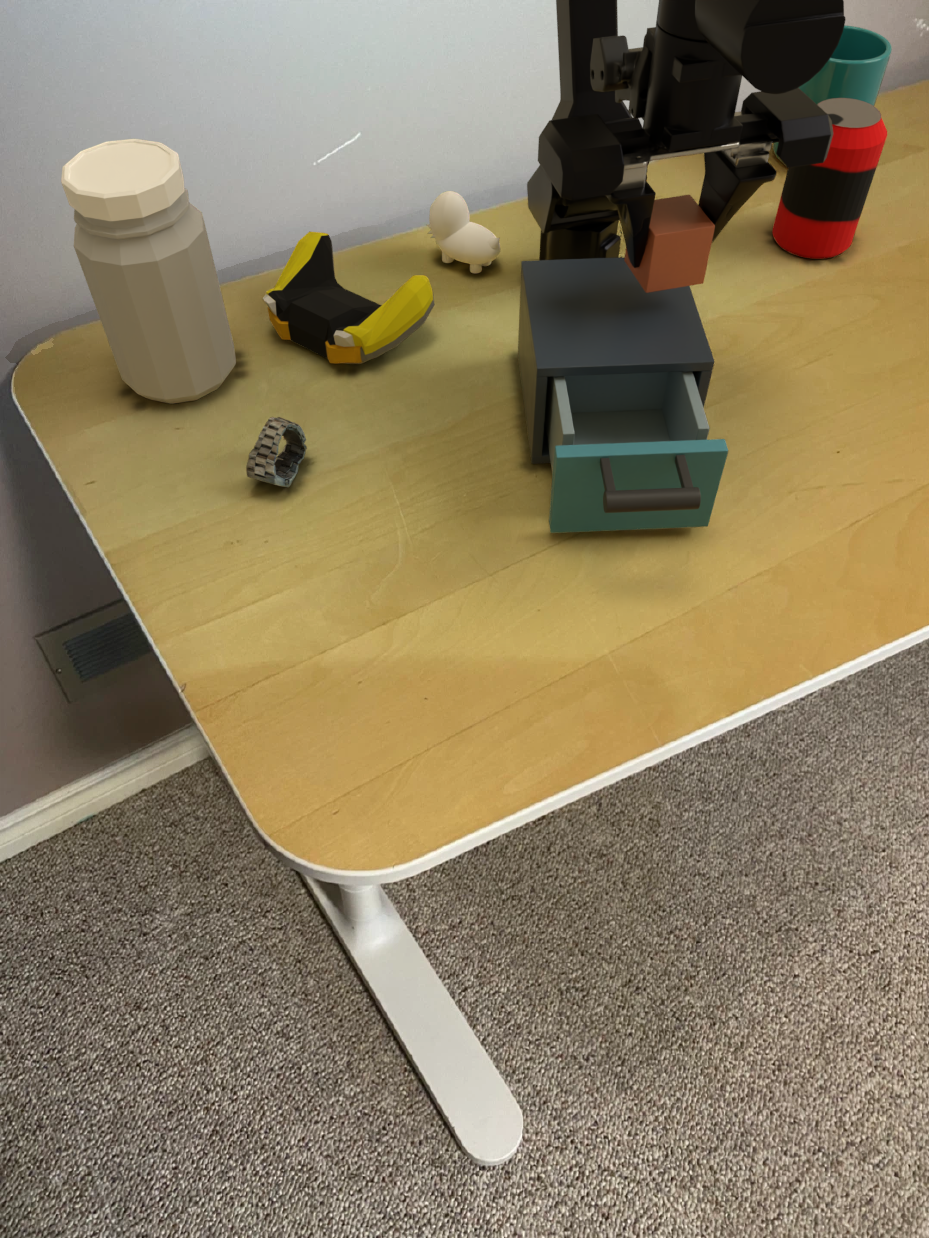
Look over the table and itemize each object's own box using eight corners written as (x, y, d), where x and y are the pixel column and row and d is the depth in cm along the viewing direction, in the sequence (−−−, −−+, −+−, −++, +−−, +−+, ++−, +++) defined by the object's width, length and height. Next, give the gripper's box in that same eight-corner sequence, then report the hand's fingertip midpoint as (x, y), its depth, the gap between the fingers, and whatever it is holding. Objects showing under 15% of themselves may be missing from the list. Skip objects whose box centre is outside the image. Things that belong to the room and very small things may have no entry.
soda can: (754, 235, 94) (785, 109, 85) (807, 210, 97) (842, 85, 88) (814, 270, 91) (853, 142, 81) (867, 243, 93) (911, 116, 84)
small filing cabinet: (692, 458, 75) (715, 361, 68) (531, 464, 75) (536, 368, 67) (662, 350, 83) (679, 254, 76) (517, 356, 83) (521, 260, 76)
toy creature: (444, 237, 95) (442, 175, 90) (512, 262, 92) (514, 199, 87) (416, 259, 92) (413, 196, 88) (486, 285, 90) (486, 222, 85)
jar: (179, 325, 86) (120, 121, 72) (263, 361, 83) (218, 154, 69) (99, 384, 81) (19, 177, 67) (184, 425, 78) (119, 215, 64)
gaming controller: (320, 275, 91) (245, 326, 86) (312, 220, 87) (232, 270, 82) (445, 331, 85) (372, 389, 80) (443, 276, 81) (366, 333, 76)
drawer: (721, 574, 66) (744, 496, 60) (556, 581, 66) (564, 503, 60) (676, 413, 77) (693, 333, 71) (534, 419, 77) (539, 339, 71)
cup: (876, 137, 106) (912, 25, 97) (840, 185, 100) (875, 70, 91) (798, 118, 109) (826, 8, 100) (758, 163, 103) (784, 49, 94)
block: (645, 293, 69) (654, 235, 66) (623, 260, 72) (631, 203, 68) (703, 284, 70) (715, 225, 66) (679, 251, 73) (689, 194, 69)
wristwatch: (269, 481, 76) (239, 475, 71) (294, 420, 75) (265, 410, 70) (302, 497, 75) (273, 492, 70) (327, 436, 74) (300, 426, 70)
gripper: (785, -39, 64) (736, 188, 76) (517, -8, 61) (511, 222, 74) (869, 24, 57) (801, 262, 70) (573, 63, 55) (556, 303, 67)
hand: (665, 259), depth 70 cm, fingers closed on block, 4 cm apart
